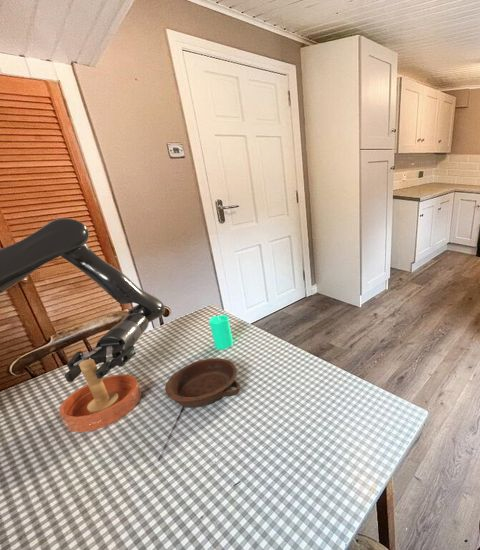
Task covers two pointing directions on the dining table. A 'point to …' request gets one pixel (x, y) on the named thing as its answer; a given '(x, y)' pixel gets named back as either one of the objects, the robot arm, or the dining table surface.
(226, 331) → the candle
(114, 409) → the bowl
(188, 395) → the dish
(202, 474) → the dining table surface
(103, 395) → the wooden pestle
